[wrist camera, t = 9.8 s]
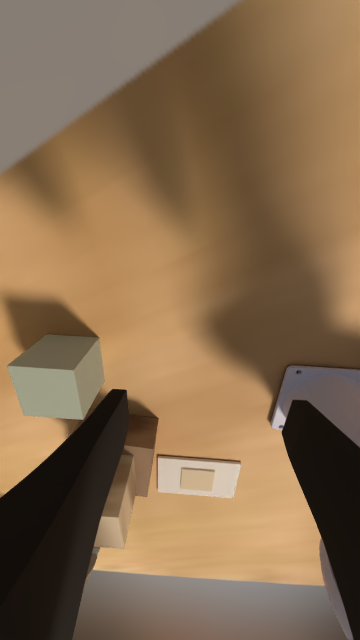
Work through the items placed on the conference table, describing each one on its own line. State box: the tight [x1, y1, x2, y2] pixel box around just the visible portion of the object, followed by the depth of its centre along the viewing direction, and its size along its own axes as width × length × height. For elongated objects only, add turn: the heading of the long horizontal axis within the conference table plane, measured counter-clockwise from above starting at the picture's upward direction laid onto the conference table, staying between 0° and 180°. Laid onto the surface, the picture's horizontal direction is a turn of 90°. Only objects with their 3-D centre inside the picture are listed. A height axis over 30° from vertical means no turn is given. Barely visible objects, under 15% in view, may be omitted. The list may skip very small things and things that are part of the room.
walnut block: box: [74, 409, 159, 497], centre depth 25 cm, size 8×8×4 cm
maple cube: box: [94, 455, 137, 549], centre depth 21 cm, size 5×5×5 cm
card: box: [158, 456, 241, 498], centre depth 28 cm, size 10×7×1 cm
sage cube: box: [7, 334, 105, 420], centre depth 20 cm, size 5×5×5 cm
